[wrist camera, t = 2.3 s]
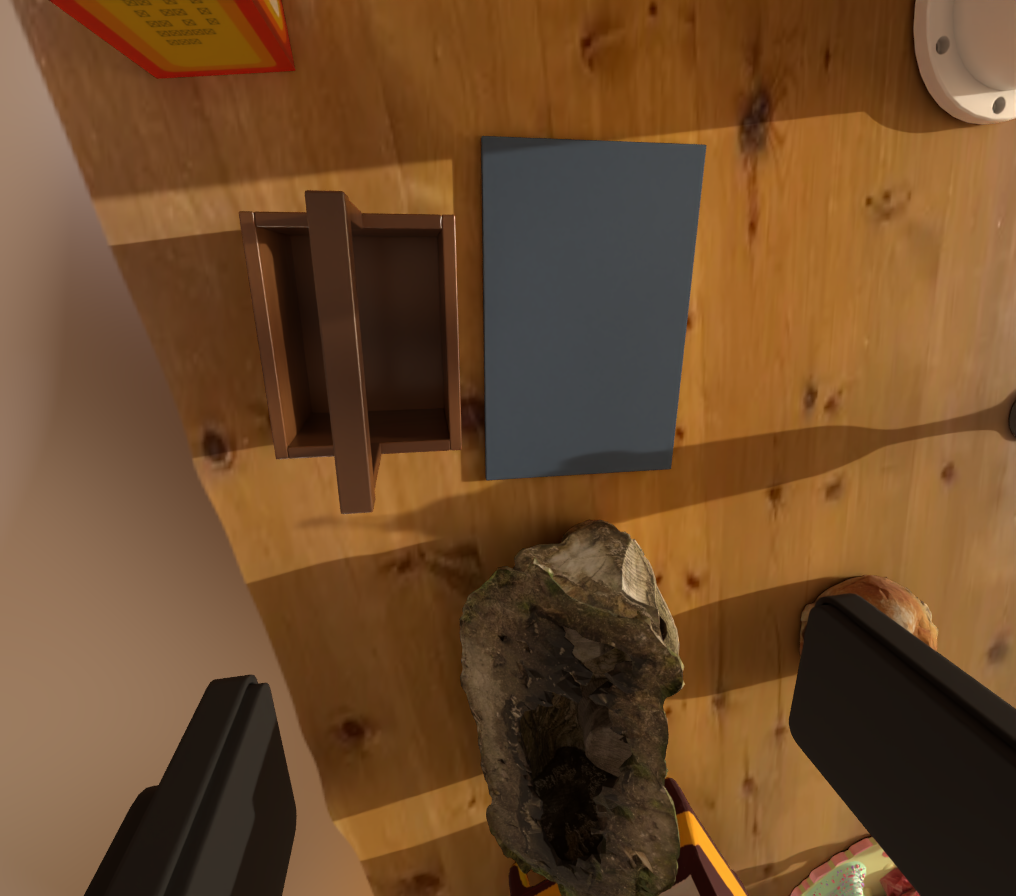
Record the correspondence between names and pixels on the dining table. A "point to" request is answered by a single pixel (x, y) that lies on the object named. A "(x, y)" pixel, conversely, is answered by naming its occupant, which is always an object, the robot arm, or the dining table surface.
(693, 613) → the dining table surface
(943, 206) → the dining table surface
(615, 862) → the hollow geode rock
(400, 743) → the dining table surface
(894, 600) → the bread roll
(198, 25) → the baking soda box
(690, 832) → the decorative lantern
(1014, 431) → the sundae
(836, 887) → the candy landscape model
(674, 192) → the placemat
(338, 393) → the basket
